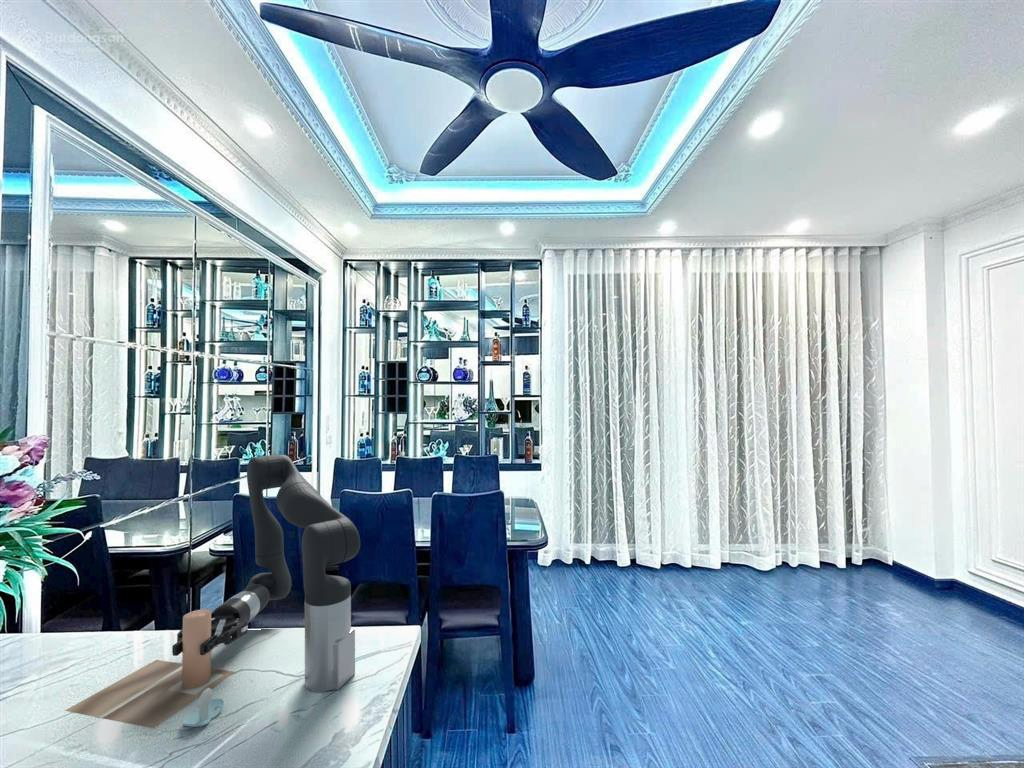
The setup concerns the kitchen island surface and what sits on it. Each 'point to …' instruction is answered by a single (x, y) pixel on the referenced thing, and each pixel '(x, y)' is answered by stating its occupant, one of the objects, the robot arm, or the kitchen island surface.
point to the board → (146, 695)
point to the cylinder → (196, 649)
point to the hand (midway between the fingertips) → (188, 650)
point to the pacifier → (203, 711)
